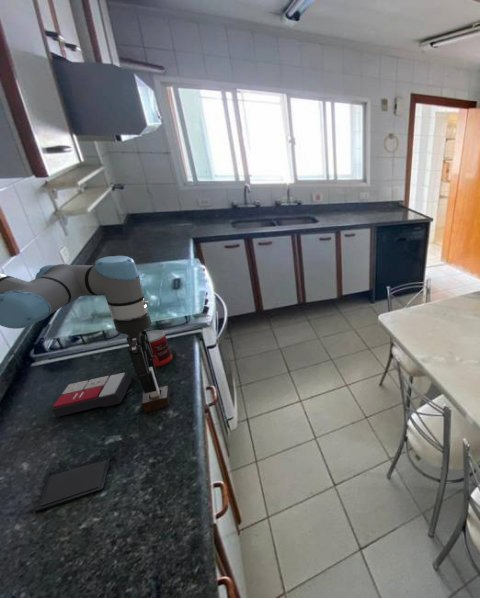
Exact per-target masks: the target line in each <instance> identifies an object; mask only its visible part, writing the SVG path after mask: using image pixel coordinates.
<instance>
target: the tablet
mask: <svg viewBox="0 0 480 598" xmlns="http://www.w3.org/2000/svg"><path fill="white" fill-rule="evenodd" d="M110 464H111V457H110V458H106V459H103V460H99V461H95V462H93V463H89V464H85V465H82V466H79V467H76V468H72V469H69V470H65V471H62V472H59V473H55V474H52V475H49V476H48V478H47V480H46V482H45V485H44V487H43V489H42V492H41V494H40V497H39V499H38V502H37V504H36V506H35V509H34V513H35V514H37V513H38V514H39V513H42V512H44V511H47V510H50V509H54V508H56V507H59V506H62V505H66V504H68V503H72V502H74V501H78V500H80V499H83V498H85V497H88V496H91V495H94V494H96V493H100V492H102V491H104V488H105V485H106V481H107V476H108V473H109V468H110Z"/></svg>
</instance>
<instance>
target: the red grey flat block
mask: <svg viewBox="0 0 480 598" xmlns="http://www.w3.org/2000/svg"><path fill="white" fill-rule="evenodd" d="M131 382H132V379H131V377H130V376H129V374H128V372H121V373H115V374H112V375H105V376H100V377H96V378H91V379H90V380H88V379H87V380H83V381H78V382H74V383H69V384H68V385H67V386H66V388H65V389H64V391H63V392H62V393H61V395H60V396H59V397H58V399H57V400H56V401H55V403H54V404H53V406H52V407H51V409H50V411H52V413H53V414H54V416H55V417H56V418H61V417H65V416H67V415H72V414H74V413H80V412H84V411H88V410H92V409H96V408H101V407H102V408H107V407H111V406H115V405H119V404H121V403H122V402H123V399H124V397H125V395H126V393H127V391H128V389H129V387H130V385H131Z"/></svg>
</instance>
